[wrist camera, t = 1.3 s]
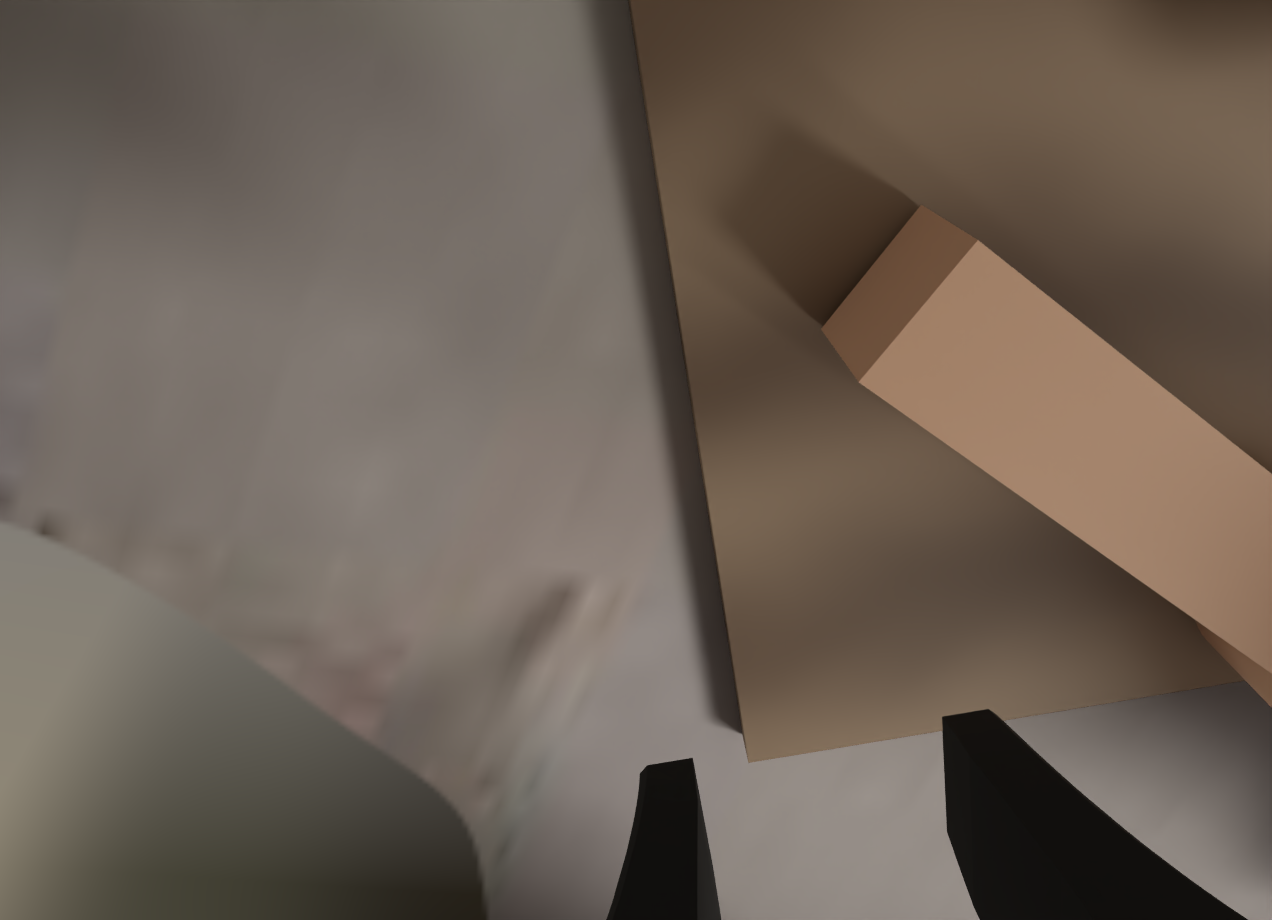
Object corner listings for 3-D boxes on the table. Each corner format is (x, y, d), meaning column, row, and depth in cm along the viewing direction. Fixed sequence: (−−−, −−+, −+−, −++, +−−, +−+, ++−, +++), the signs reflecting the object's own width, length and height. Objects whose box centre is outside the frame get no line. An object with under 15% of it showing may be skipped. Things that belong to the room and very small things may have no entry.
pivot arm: (1422, 560, 23) (1568, 659, 20) (1273, 688, 24) (1386, 801, 21) (946, 174, 19) (1028, 214, 15) (798, 356, 20) (843, 430, 17)
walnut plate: (1398, 627, 26) (1428, 650, 25) (742, 736, 26) (748, 762, 25) (1587, -333, 17) (1644, -352, 16) (605, -146, 17) (606, -154, 16)
